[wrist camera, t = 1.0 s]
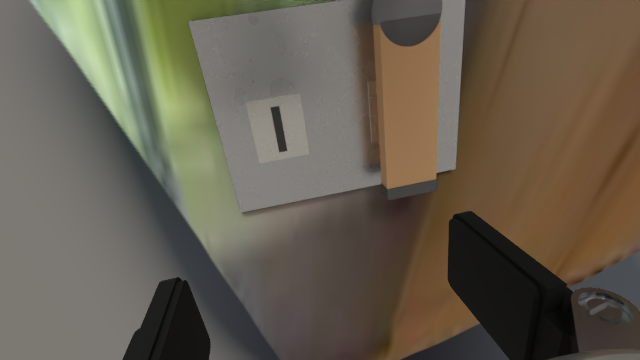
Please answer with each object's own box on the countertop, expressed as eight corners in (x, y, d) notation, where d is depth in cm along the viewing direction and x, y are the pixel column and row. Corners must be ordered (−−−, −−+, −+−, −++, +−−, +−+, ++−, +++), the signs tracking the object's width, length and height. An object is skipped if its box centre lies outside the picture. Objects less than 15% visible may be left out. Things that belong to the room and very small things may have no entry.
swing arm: (368, -22, 25) (376, -26, 23) (432, -31, 25) (444, -35, 24) (380, 192, 33) (387, 200, 31) (428, 182, 33) (437, 190, 32)
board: (189, 21, 26) (182, 20, 24) (461, -16, 29) (482, -21, 26) (241, 208, 34) (239, 223, 31) (451, 166, 37) (467, 176, 34)
